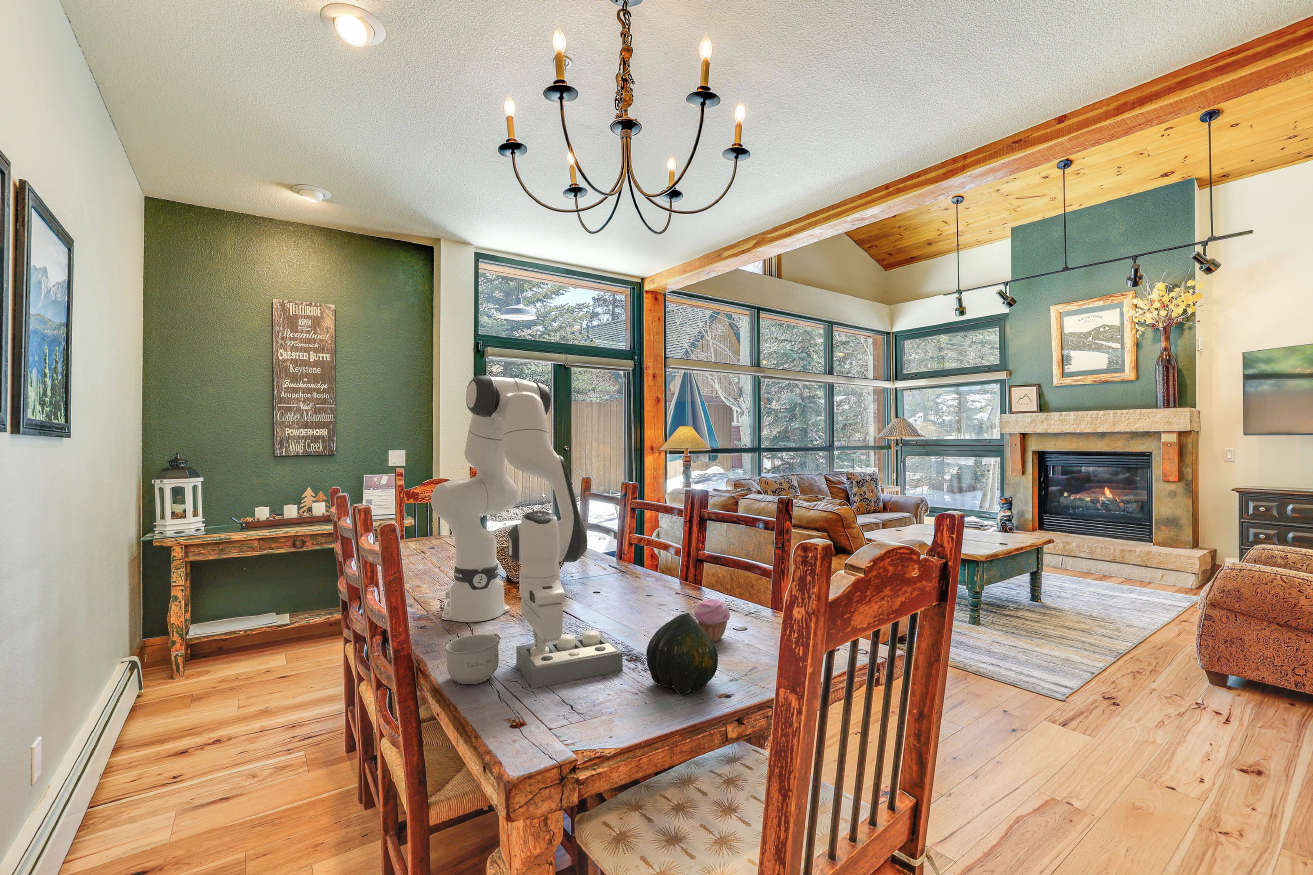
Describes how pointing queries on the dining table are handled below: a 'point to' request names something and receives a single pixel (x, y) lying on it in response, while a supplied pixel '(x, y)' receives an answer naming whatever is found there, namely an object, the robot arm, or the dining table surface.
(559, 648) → the button
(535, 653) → the button
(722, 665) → the dining table surface
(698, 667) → the squash
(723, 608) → the cupcake
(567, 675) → the button board
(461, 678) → the teacup
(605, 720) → the dining table surface
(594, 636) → the button
